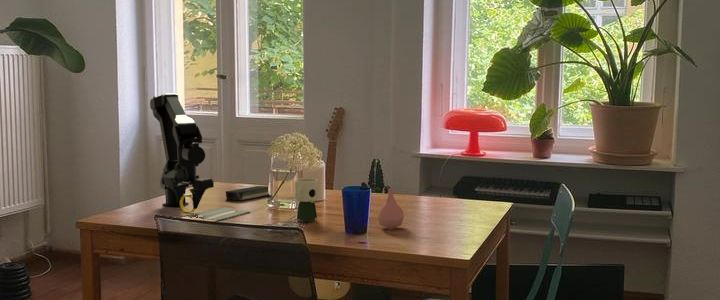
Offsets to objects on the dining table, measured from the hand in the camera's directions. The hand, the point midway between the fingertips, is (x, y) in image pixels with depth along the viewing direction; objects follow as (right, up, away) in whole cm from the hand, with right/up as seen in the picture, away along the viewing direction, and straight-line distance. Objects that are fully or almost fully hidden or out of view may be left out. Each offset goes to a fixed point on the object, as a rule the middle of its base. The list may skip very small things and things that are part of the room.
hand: (188, 207), depth 249 cm
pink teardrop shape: (+65, -5, -23) cm, 69 cm away
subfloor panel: (+9, -3, -6) cm, 11 cm away
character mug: (+40, -3, -13) cm, 42 cm away
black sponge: (+16, +1, +25) cm, 30 cm away
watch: (0, -2, 0) cm, 2 cm away
